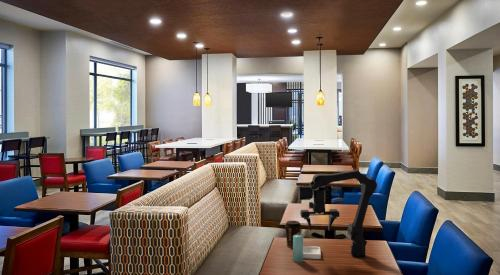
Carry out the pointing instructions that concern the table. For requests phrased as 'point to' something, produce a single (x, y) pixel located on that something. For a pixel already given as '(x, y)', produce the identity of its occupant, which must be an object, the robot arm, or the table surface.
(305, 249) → the tray
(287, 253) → the table surface
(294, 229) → the coffee cup
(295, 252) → the teal cylinder
